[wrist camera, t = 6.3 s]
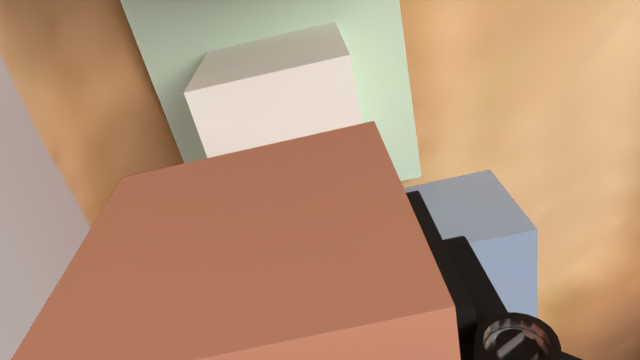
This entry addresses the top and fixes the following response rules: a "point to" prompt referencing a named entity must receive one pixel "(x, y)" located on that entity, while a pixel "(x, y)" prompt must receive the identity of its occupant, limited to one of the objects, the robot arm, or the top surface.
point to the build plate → (269, 20)
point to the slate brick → (489, 233)
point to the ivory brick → (273, 90)
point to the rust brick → (255, 263)
